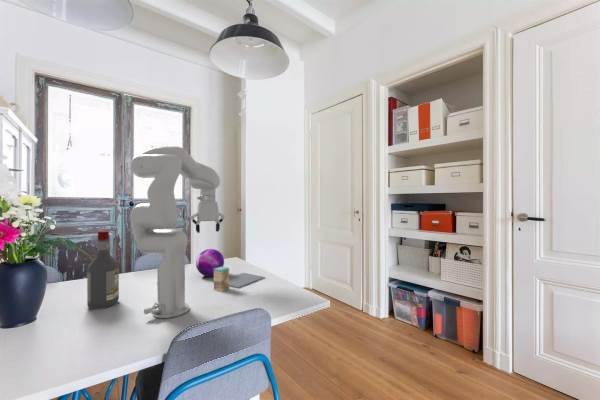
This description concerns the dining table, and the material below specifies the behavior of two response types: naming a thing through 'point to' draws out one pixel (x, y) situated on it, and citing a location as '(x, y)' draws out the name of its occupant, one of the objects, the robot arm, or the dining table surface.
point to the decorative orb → (209, 261)
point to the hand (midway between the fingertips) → (207, 231)
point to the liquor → (102, 276)
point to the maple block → (221, 279)
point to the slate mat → (243, 280)
